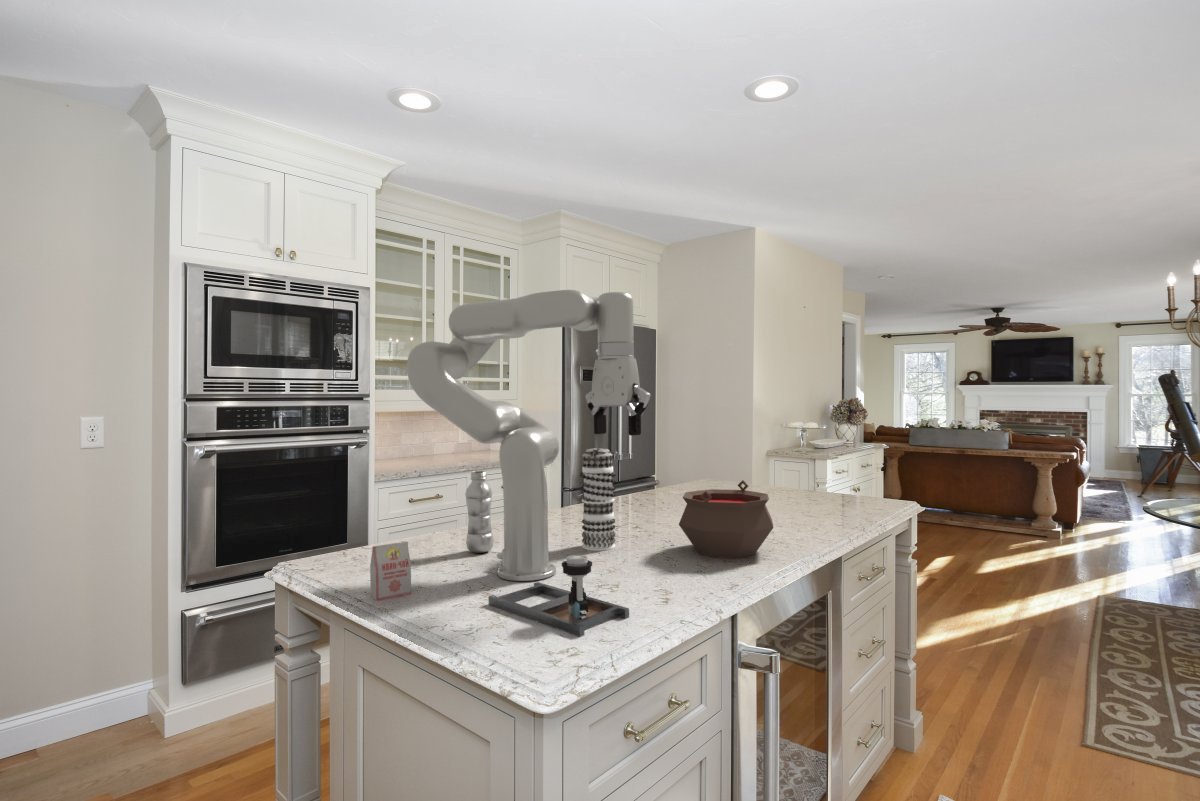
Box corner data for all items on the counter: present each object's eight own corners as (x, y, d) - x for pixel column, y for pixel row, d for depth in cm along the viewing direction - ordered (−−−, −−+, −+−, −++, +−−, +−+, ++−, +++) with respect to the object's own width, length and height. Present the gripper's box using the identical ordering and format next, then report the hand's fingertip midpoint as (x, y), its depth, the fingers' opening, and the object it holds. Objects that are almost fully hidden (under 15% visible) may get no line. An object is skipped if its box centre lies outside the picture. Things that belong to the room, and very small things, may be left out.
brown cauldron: (704, 536, 172) (703, 476, 172) (791, 547, 158) (790, 482, 158) (659, 554, 152) (658, 487, 152) (753, 569, 138) (752, 495, 138)
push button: (599, 620, 107) (598, 561, 107) (569, 624, 105) (568, 564, 105) (587, 608, 113) (586, 552, 113) (558, 611, 112) (558, 555, 112)
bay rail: (488, 604, 117) (488, 596, 117) (537, 589, 126) (537, 582, 126) (579, 636, 101) (579, 627, 101) (629, 616, 109) (629, 608, 109)
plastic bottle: (491, 555, 154) (489, 473, 154) (463, 555, 154) (462, 473, 154) (495, 548, 161) (494, 470, 161) (469, 549, 161) (468, 470, 161)
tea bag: (370, 596, 123) (369, 544, 123) (404, 589, 127) (404, 539, 127) (376, 600, 120) (375, 548, 120) (411, 593, 124) (410, 543, 124)
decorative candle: (589, 552, 155) (587, 451, 155) (575, 545, 164) (574, 448, 164) (622, 548, 159) (621, 449, 159) (607, 541, 167) (606, 446, 167)
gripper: (574, 354, 135) (575, 434, 135) (635, 349, 123) (637, 436, 123) (598, 355, 141) (599, 432, 141) (659, 350, 129) (660, 434, 129)
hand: (617, 434), depth 132 cm, fingers open, 9 cm apart
